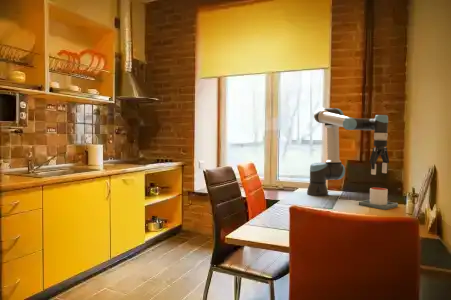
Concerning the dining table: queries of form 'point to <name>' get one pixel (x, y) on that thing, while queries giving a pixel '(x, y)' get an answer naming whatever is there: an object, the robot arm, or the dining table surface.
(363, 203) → the tray
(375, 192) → the cup
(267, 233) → the dining table surface
